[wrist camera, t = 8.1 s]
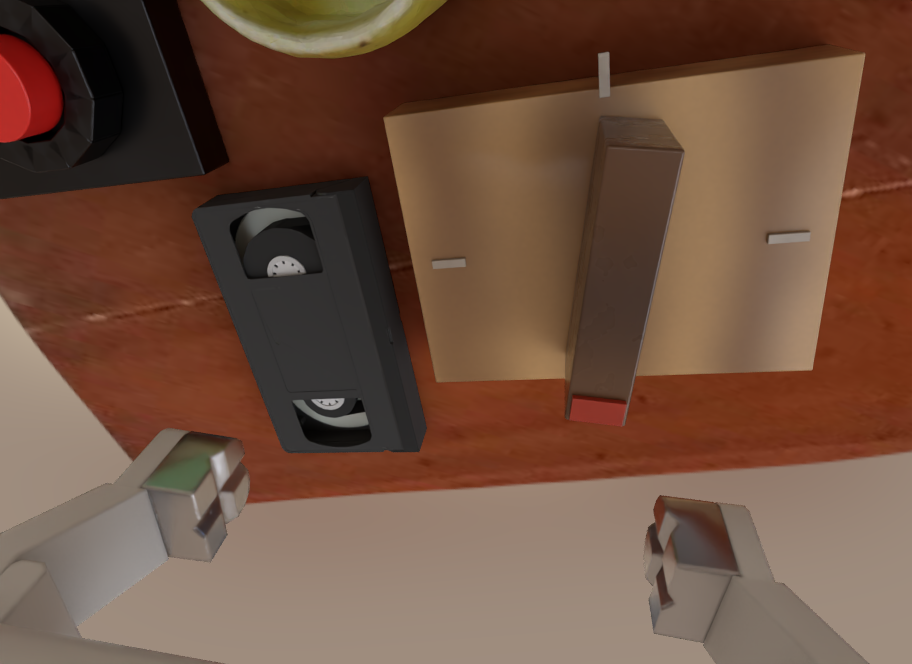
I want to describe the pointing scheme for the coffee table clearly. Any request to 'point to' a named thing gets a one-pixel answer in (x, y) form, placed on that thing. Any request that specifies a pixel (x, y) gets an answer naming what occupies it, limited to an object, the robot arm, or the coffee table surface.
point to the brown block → (618, 264)
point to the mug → (323, 23)
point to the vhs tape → (316, 314)
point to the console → (111, 98)
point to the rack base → (691, 224)
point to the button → (26, 91)
